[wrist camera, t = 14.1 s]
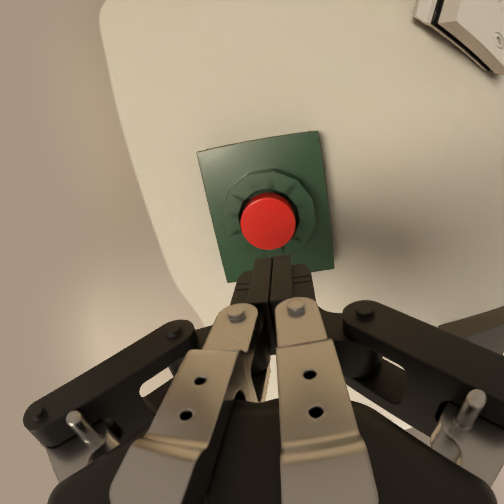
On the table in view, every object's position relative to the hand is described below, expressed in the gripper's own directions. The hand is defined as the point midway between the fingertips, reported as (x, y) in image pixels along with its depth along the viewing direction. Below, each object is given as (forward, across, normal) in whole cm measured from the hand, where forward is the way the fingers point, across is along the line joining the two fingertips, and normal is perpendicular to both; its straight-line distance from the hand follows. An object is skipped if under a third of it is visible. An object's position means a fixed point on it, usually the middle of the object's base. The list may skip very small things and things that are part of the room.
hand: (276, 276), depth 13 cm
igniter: (+12, +1, 0) cm, 12 cm away
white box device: (+10, -27, -18) cm, 34 cm away
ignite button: (+9, +1, 0) cm, 9 cm away
